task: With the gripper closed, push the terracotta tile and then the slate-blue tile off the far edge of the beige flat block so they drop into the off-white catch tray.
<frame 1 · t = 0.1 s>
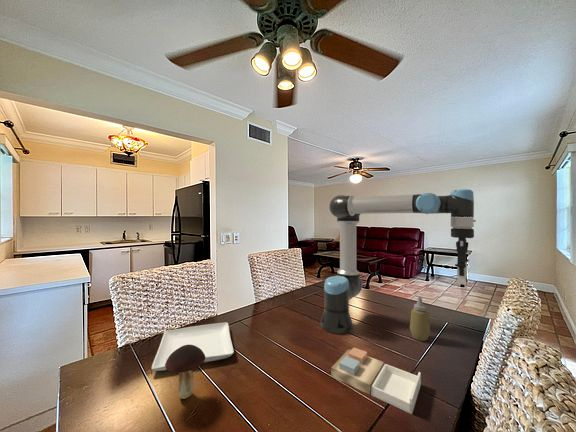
hand: (462, 280, 94), 28 cm above the table, fingers open, 13 cm apart
tile terracotta: (357, 358, 83), point 3 cm above the table, touching beige flat block
catch tray: (396, 390, 72), on the table
squeeze bottle: (419, 338, 103), on the table
decorative mushroom: (185, 397, 69), on the table
beige flat block: (358, 373, 80), on the table
square plate: (196, 350, 95), on the table
tile slate: (349, 368, 78), point 3 cm above the table, touching beige flat block
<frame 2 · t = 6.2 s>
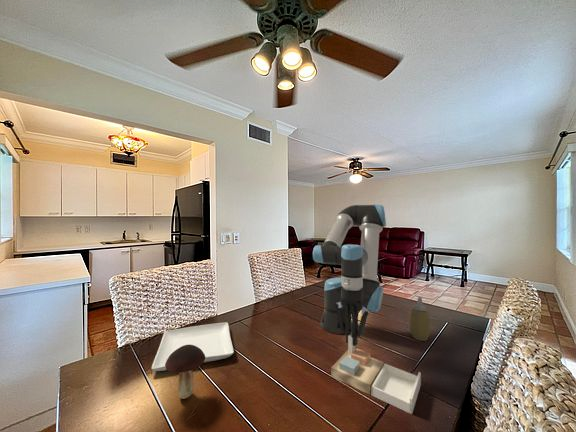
hand: (351, 352, 84), 4 cm above the table, fingers closed
tile terracotta: (360, 359, 83), point 3 cm above the table, touching gripper
everything else where it was.
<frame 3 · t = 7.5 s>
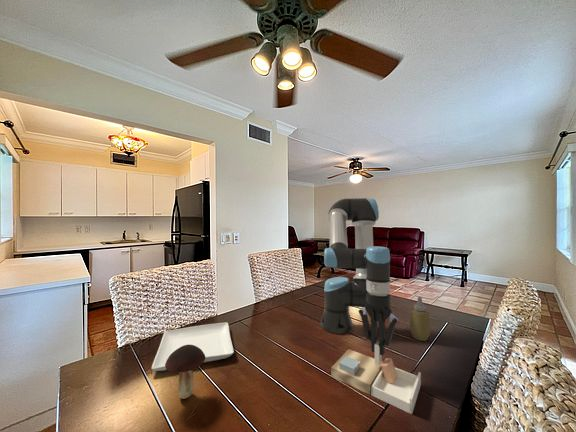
hand: (378, 362, 79), 4 cm above the table, fingers closed
tile terracotta: (386, 370, 77), point 3 cm above the table, tilted 68°, touching catch tray
everything else where it was.
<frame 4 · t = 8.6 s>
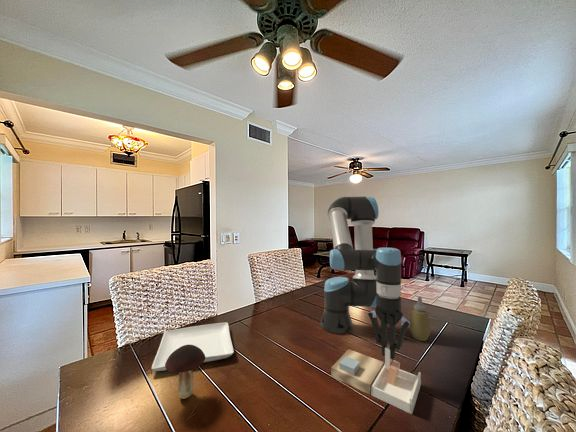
hand: (388, 366, 77), 4 cm above the table, fingers closed
tile terracotta: (390, 370, 76), point 3 cm above the table, tilted 98°, touching catch tray, gripper
everything else where it was.
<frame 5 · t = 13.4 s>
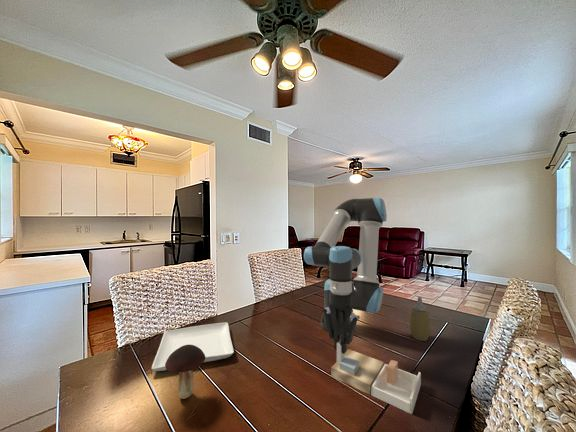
hand: (340, 361, 80), 4 cm above the table, fingers closed
tile terracotta: (389, 370, 76), point 3 cm above the table, tilted 90°, touching catch tray
tile slate: (349, 368, 78), point 3 cm above the table, touching beige flat block, gripper
everything else where it was.
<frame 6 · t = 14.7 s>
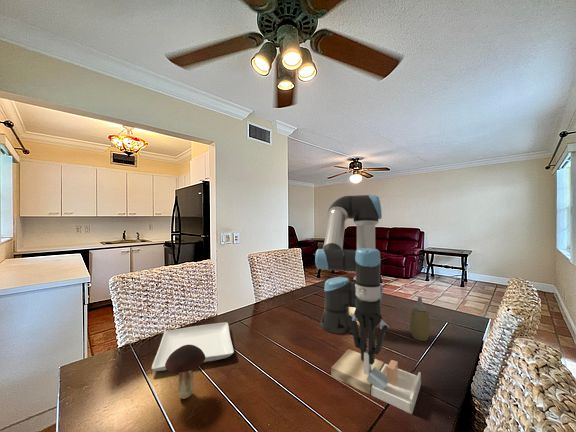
hand: (367, 372, 74), 4 cm above the table, fingers closed
tile slate: (376, 381, 72), point 3 cm above the table, tilted 23°
everything else where it was.
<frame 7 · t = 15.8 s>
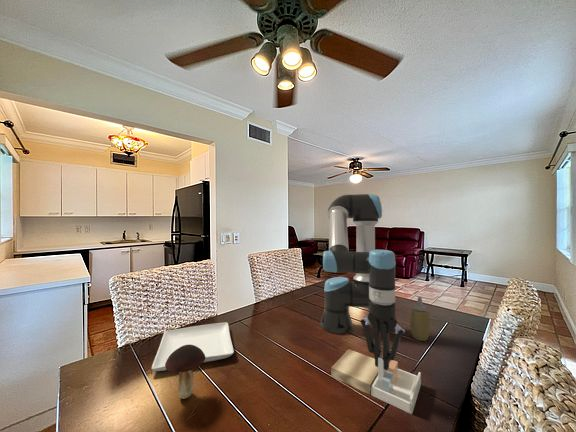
hand: (381, 378, 71), 4 cm above the table, fingers closed
tile slate: (384, 383, 71), point 3 cm above the table, tilted 91°, touching catch tray, gripper
everything else where it was.
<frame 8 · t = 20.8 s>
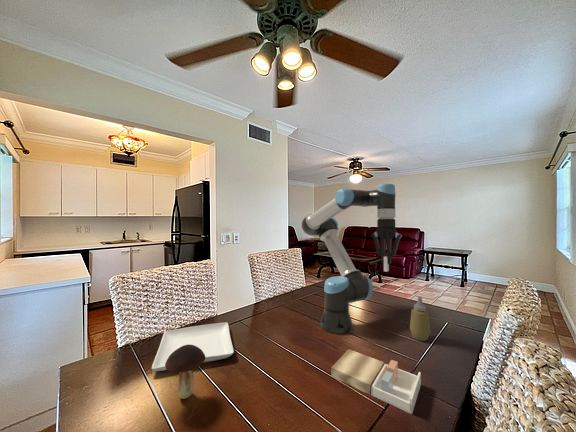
hand: (386, 270, 105), 29 cm above the table, fingers closed
tile slate: (384, 383, 71), point 3 cm above the table, tilted 90°, touching catch tray
everything else where it was.
at the end: tile terracotta inside the target area (4.6 cm from its centre), point 3.0 cm above the table; tile slate inside the target area (4.7 cm from its centre), point 3.0 cm above the table; tile terracotta touching catch tray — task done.
